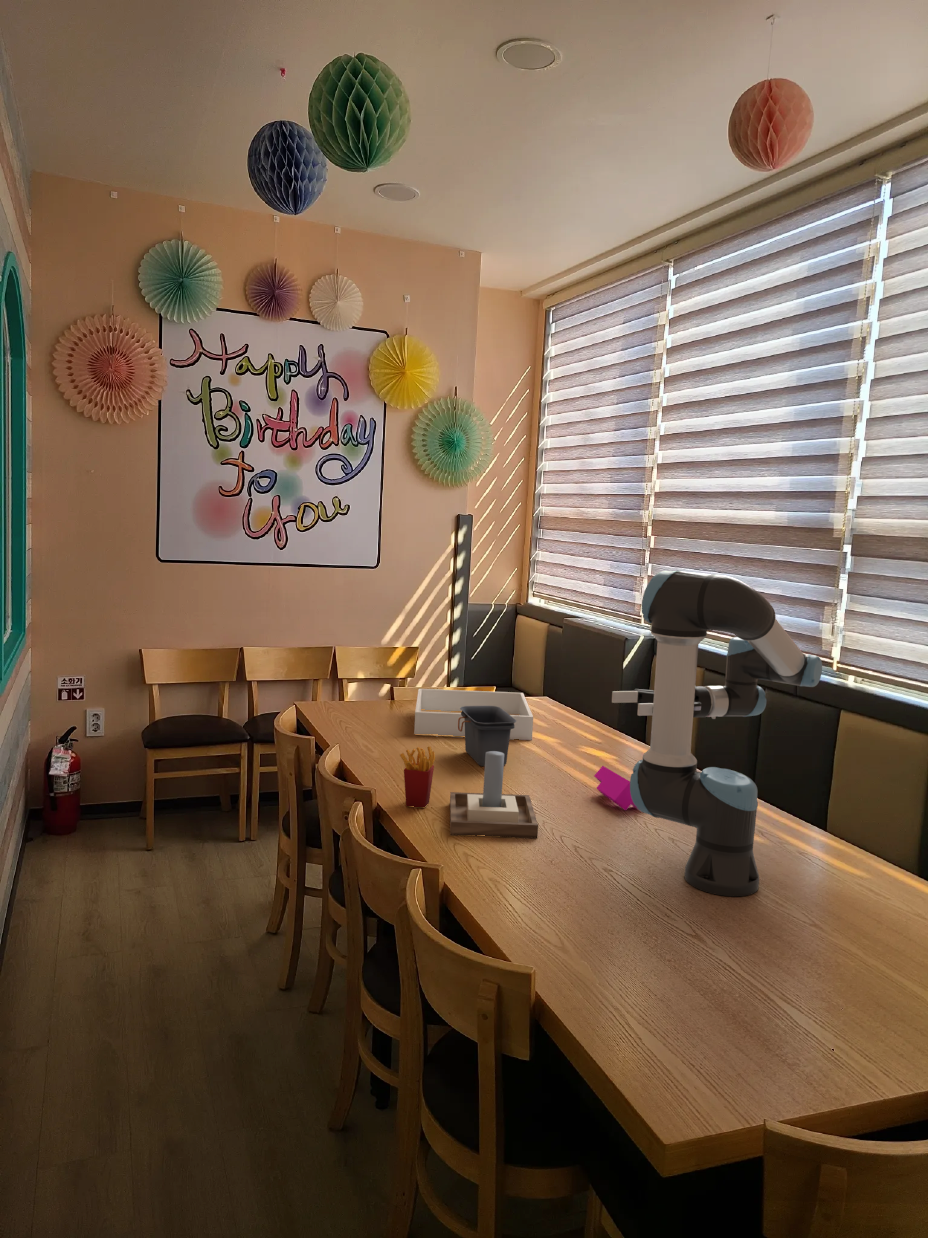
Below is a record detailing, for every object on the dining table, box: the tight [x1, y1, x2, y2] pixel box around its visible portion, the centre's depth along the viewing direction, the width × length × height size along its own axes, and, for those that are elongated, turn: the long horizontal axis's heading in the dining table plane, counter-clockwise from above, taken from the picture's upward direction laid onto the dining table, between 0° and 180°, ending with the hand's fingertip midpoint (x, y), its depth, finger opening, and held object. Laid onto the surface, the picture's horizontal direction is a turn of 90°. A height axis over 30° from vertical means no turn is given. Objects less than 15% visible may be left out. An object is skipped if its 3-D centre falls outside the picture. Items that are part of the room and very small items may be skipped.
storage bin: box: [458, 706, 516, 767], centre depth 277 cm, size 21×16×14 cm
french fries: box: [399, 746, 436, 808], centre depth 233 cm, size 9×8×15 cm
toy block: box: [593, 765, 638, 811], centre depth 242 cm, size 15×6×8 cm
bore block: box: [467, 794, 519, 823], centre depth 223 cm, size 12×12×4 cm
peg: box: [482, 751, 505, 807], centre depth 223 cm, size 5×5×16 cm
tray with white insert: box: [449, 791, 539, 839], centre depth 223 cm, size 22×20×3 cm
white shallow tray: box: [413, 688, 534, 741], centre depth 322 cm, size 39×39×8 cm
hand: (625, 703), depth 215 cm, fingers open, 13 cm apart
